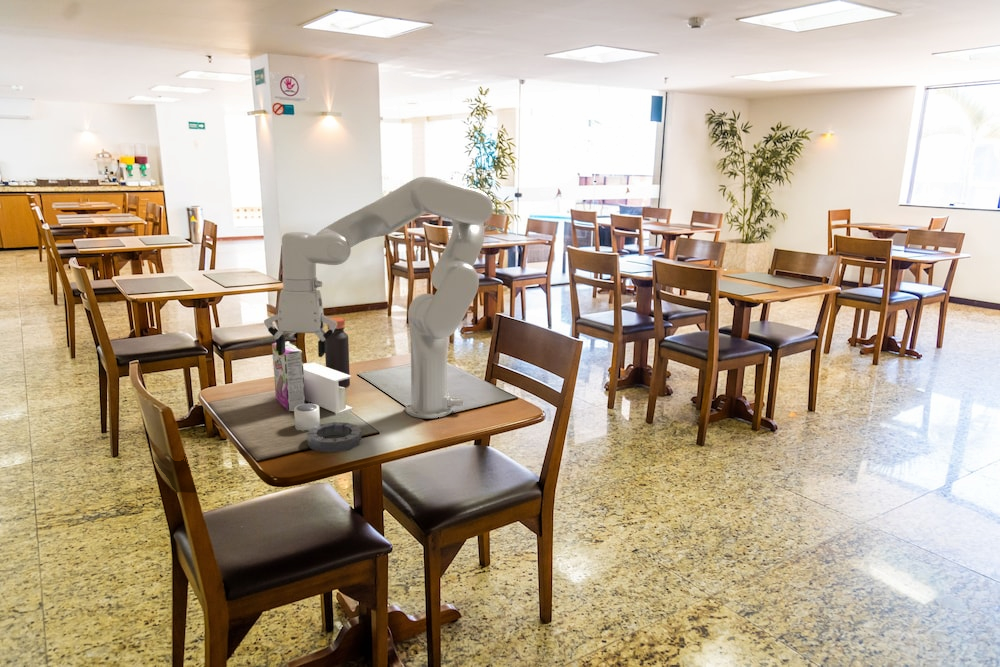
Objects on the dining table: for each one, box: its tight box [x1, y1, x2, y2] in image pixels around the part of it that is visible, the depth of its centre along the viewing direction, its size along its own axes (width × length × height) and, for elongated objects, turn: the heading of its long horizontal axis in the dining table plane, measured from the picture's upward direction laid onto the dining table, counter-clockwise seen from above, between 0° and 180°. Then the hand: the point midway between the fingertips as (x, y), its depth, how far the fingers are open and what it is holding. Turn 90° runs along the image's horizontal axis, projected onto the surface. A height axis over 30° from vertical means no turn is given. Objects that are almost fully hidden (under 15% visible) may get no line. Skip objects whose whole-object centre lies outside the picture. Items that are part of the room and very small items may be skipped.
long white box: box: [303, 361, 354, 415], centre depth 182 cm, size 20×6×9 cm, turn 49°
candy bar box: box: [271, 340, 306, 412], centre depth 179 cm, size 11×5×16 cm, turn 35°
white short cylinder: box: [293, 403, 321, 430], centre depth 166 cm, size 6×6×5 cm
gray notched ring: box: [306, 421, 362, 453], centre depth 158 cm, size 12×12×2 cm
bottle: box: [324, 317, 351, 389], centre depth 195 cm, size 7×7×20 cm
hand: (301, 354), depth 162 cm, fingers open, 9 cm apart
